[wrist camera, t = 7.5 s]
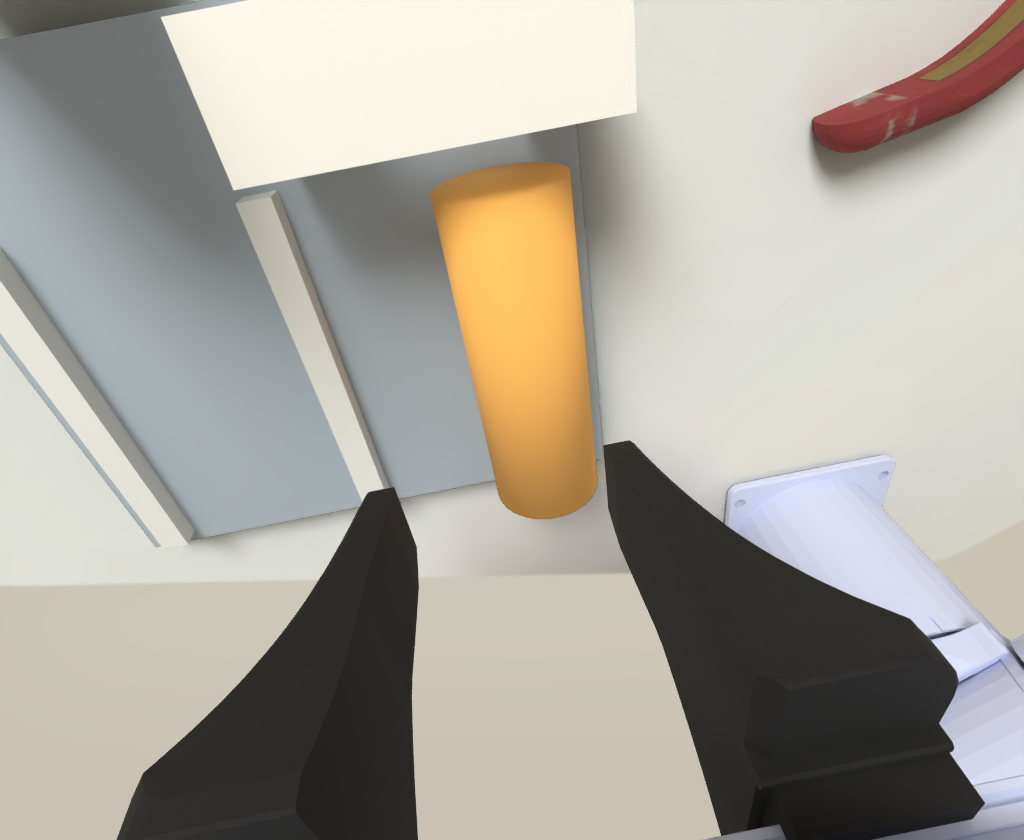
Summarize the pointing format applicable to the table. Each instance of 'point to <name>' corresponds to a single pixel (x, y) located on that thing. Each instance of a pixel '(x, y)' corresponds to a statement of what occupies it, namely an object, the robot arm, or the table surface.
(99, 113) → the board
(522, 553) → the table surface
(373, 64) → the white bracket
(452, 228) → the orange cylinder
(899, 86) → the pliers
